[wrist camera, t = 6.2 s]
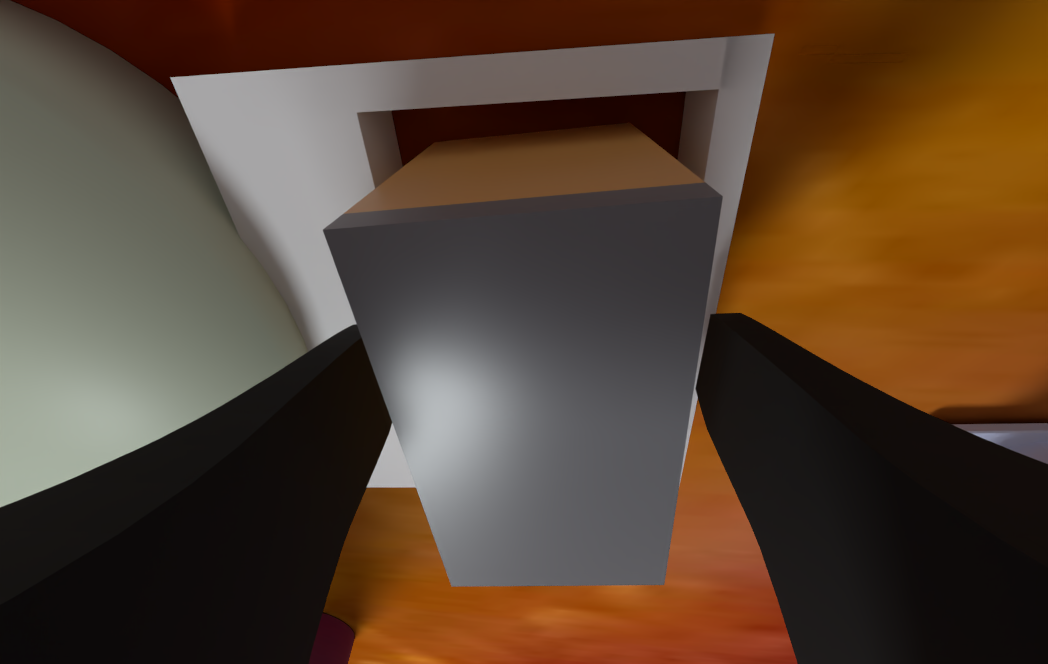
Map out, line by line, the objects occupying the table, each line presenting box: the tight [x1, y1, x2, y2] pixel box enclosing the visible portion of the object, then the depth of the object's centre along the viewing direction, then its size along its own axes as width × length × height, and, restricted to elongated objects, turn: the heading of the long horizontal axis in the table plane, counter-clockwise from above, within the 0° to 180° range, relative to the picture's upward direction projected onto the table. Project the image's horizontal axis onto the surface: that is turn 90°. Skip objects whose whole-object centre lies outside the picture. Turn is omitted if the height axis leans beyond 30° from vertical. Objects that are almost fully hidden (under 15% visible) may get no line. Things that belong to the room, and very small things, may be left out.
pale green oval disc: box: [0, 0, 775, 507], centre depth 11 cm, size 16×26×3 cm, turn 93°
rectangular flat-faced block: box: [323, 123, 723, 586], centre depth 9 cm, size 8×4×6 cm, turn 6°
